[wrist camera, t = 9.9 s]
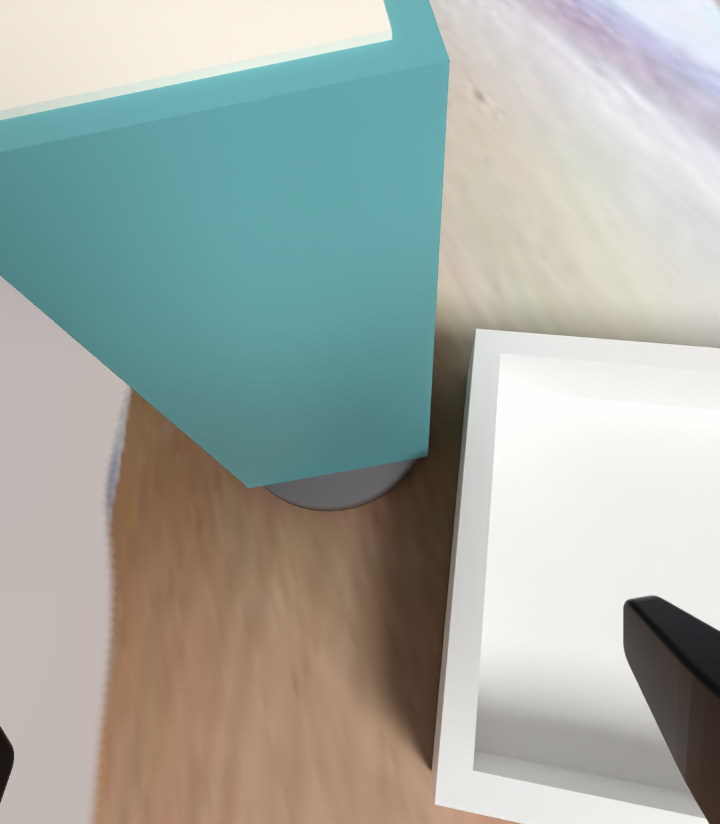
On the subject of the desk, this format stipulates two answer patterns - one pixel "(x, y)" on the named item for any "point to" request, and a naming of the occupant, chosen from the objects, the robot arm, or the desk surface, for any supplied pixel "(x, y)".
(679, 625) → the robot arm
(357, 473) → the charcoal coaster
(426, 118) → the teal carton
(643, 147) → the desk surface
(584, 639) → the white tray
